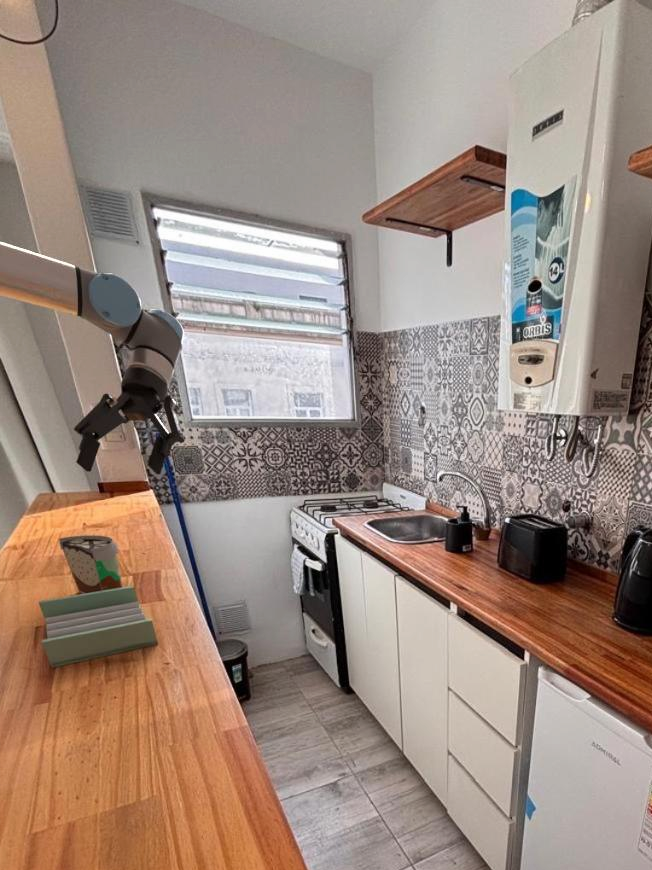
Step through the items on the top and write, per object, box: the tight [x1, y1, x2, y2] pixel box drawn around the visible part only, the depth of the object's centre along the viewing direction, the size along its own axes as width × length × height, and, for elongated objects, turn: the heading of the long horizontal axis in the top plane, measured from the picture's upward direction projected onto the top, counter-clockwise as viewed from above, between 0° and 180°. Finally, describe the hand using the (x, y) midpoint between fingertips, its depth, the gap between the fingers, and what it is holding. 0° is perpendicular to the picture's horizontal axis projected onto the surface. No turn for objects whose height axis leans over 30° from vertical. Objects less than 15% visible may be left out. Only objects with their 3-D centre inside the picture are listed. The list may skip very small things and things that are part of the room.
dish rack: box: [38, 585, 159, 669], centre depth 80 cm, size 18×13×4 cm
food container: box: [58, 534, 123, 594], centre depth 94 cm, size 12×6×10 cm, turn 59°
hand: (118, 468), depth 97 cm, fingers open, 13 cm apart
